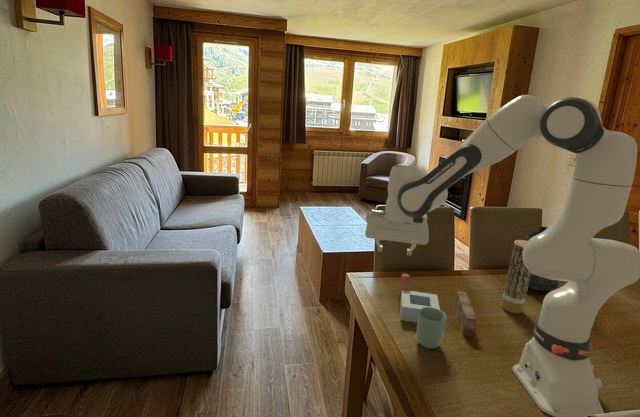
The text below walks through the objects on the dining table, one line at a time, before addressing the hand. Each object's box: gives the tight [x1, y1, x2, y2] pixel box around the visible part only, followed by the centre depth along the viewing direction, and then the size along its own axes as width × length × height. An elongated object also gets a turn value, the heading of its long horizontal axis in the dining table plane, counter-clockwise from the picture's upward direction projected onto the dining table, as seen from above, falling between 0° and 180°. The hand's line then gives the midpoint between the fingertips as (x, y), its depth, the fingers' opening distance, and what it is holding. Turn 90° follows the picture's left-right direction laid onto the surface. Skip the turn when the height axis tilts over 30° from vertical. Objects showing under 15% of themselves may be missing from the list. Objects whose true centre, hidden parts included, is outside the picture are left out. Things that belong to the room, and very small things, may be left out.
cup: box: [415, 307, 447, 350], centre depth 109 cm, size 8×8×10 cm
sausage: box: [398, 273, 411, 300], centre depth 136 cm, size 3×3×9 cm
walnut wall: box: [454, 290, 477, 337], centre depth 124 cm, size 18×3×6 cm, turn 169°
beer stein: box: [525, 226, 559, 296], centre depth 148 cm, size 16×19×25 cm
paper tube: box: [501, 239, 531, 314], centre depth 130 cm, size 7×7×25 cm
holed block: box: [399, 290, 441, 324], centre depth 126 cm, size 12×12×5 cm
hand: (394, 252), depth 124 cm, fingers open, 8 cm apart
